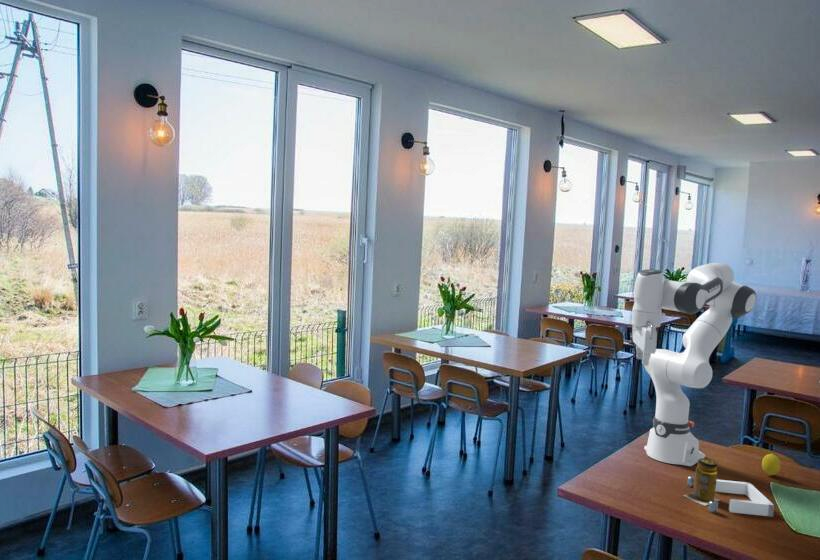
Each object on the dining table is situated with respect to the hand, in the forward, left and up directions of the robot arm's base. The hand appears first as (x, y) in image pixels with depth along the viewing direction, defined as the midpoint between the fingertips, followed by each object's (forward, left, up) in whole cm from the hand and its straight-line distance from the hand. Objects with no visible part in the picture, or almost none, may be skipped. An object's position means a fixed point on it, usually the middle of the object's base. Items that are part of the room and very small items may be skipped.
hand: (642, 361), depth 196 cm
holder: (-17, +27, -40) cm, 51 cm away
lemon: (-49, +21, -40) cm, 67 cm away
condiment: (-8, +20, -40) cm, 45 cm away
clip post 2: (-2, +27, -40) cm, 48 cm away
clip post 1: (-14, +13, -40) cm, 44 cm away
